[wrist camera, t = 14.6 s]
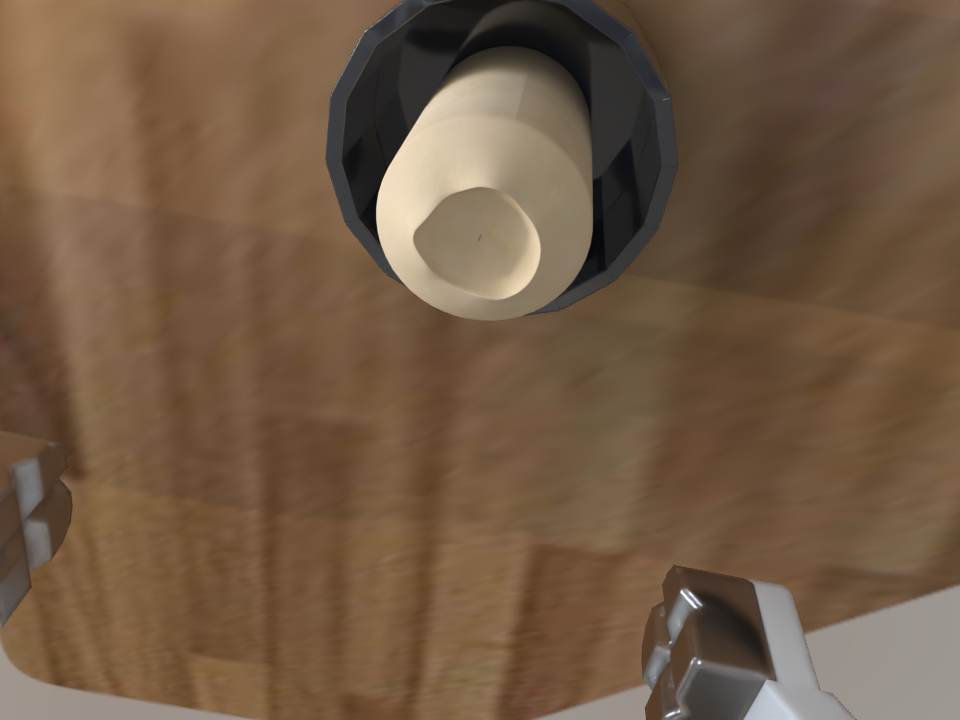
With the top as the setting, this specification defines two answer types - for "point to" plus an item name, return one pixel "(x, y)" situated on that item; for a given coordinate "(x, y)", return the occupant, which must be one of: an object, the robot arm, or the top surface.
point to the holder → (535, 25)
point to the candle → (492, 188)
